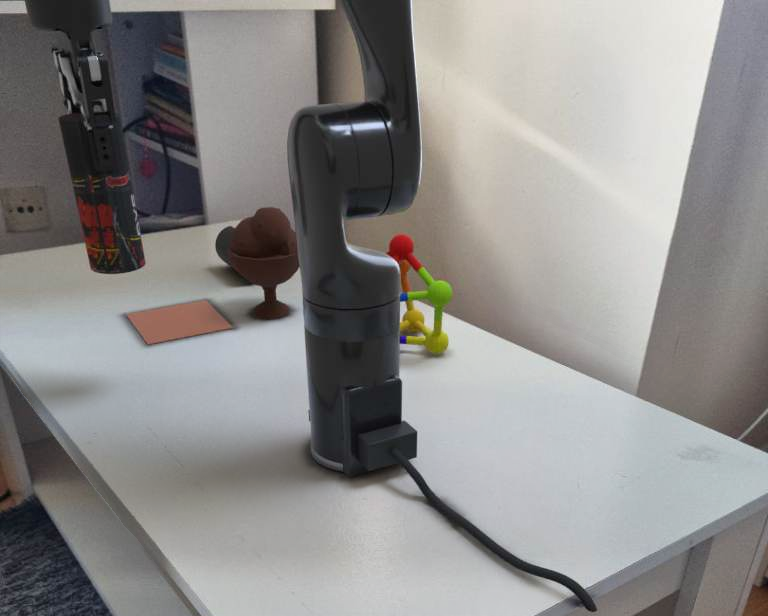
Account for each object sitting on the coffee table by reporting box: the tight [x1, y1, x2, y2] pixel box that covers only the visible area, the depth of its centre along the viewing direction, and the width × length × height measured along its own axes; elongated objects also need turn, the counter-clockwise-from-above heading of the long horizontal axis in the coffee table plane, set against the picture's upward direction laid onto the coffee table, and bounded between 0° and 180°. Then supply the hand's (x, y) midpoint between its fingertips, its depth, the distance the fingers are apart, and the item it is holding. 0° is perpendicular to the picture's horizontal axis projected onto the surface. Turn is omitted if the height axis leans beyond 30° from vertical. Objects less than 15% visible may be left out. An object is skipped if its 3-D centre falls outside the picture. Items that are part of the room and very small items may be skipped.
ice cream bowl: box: [226, 206, 300, 320], centre depth 113 cm, size 11×11×15 cm
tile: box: [125, 299, 234, 346], centre depth 115 cm, size 12×12×1 cm
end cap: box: [214, 225, 236, 270], centre depth 129 cm, size 10×7×7 cm
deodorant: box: [58, 112, 146, 275], centre depth 85 cm, size 6×6×15 cm
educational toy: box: [384, 233, 453, 355], centre depth 103 cm, size 16×13×15 cm
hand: (98, 163), depth 83 cm, fingers closed on deodorant, 6 cm apart
